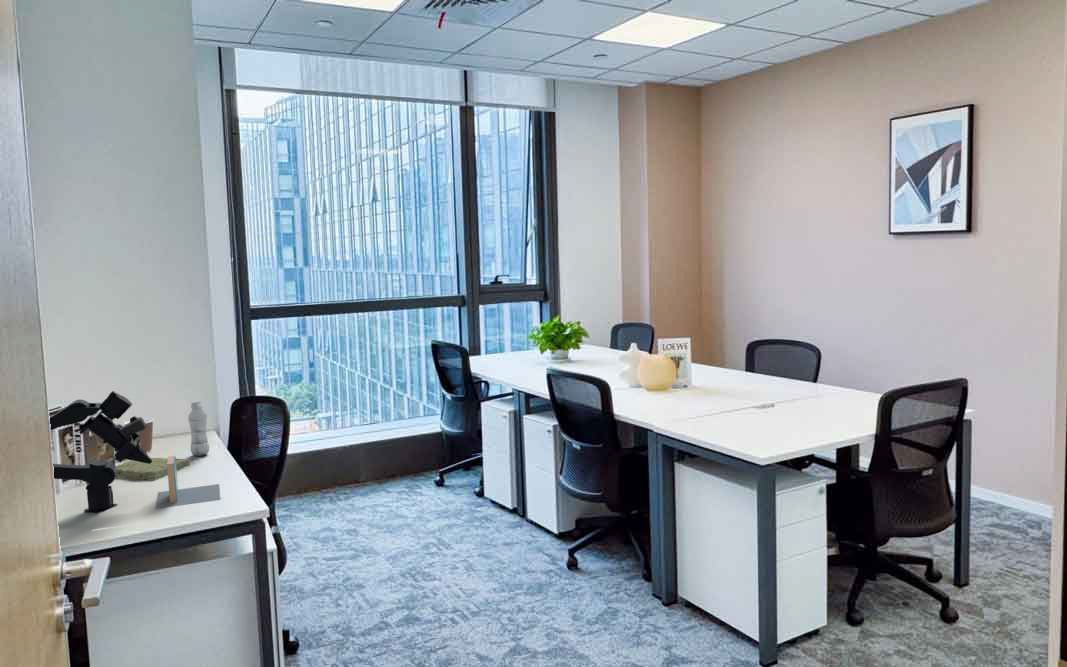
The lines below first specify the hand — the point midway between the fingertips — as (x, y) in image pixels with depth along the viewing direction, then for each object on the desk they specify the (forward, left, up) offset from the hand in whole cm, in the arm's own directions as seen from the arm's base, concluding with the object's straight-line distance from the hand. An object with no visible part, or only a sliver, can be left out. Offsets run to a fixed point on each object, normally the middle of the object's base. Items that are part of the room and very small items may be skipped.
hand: (151, 462), depth 238 cm
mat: (+5, -8, -12) cm, 16 cm away
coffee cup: (+55, +49, -13) cm, 74 cm away
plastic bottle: (+52, +21, -12) cm, 57 cm away
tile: (+3, -5, -12) cm, 13 cm away
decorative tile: (+30, +26, -13) cm, 41 cm away
